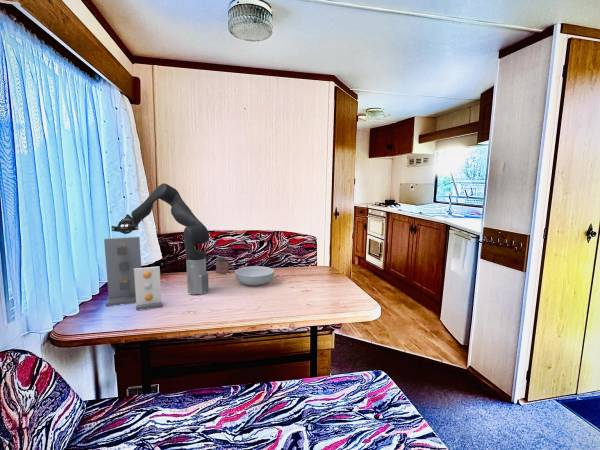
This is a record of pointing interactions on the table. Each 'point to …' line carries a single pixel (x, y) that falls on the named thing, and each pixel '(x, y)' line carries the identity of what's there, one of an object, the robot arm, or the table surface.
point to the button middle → (123, 266)
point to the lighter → (222, 265)
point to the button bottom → (124, 285)
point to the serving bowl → (254, 275)
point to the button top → (121, 250)
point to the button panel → (116, 275)
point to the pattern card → (147, 287)
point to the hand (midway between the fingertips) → (123, 230)
